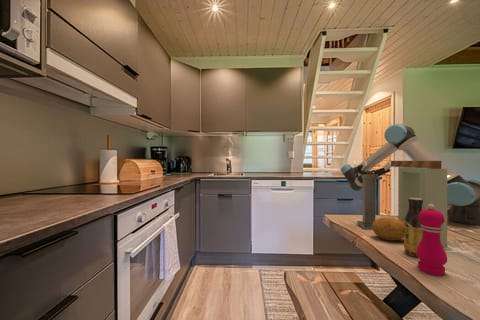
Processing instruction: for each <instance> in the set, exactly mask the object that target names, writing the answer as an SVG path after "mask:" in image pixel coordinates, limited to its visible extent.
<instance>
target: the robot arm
mask: <svg viewBox="0 0 480 320" xmlns="http://www.w3.org/2000/svg"><path fill="white" fill-rule="evenodd" d="M414 130H415V129H413V128H412V127H410V126H408V125H403V124H401V123H397V124H392V125H389V126H388V127H387V128H386V129H385V131H384V139H385V141H386V143H385V144H384V145H382V146H381V147H380V148H378V149H377V150H376V151H374V152H373V153H372V154H371V155H369V156H368V157H367V158H366V159H364V160H363V161H362V162H360V163H359V164H358V165H356V166H355V167H352V166H351V165H350V163H346V164H345V165H343V166H341V168H339V169H340V172H341V173H342V175H343V177H344V178H345V179H346V180H347V182H348V183H349V190H350V191H351V192H353V193H358V192H360V191H363V179H361V175H377V178H380V176H383V175H385V174H388V173H391V161H392V160H388V162H386V163H385V164H384V166H383V167H381V168H378V169H374V168H375V167H376V166H378V165H379V164H381V162H383V161H384V160H385V159H387V158H388V157H389V156H391V155H392V154H394V153H395V152H397V151H403V152H404V153H405V154H406V155H407V156H408V157H409V158H410V159H411V161H440V160H439V159H438V158H437V157H435V156H434V155H433V154H432V153H431V152H430V151H429V150H428V149H427V148H426V147H425V146H423V145H422V144H421V143H420V142H419V141H418V139H419V138H418V136H417V134H415V133H416V132H415V131H414ZM441 168H444V169H447V204H450V206H449V209H448V210H447V221H450V222H453V223H458V224H463V225H471V226H472V225H473V226H480V180H479V179H473V178H463V177H462V176H461V175H460V174H454V173H453V172H452V171H451V170H450V169H449V168H448V167H446V166H445V165H444V164H443V163H442V162H441Z"/></svg>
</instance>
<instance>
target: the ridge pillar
mask: <svg viewBox="0 0 480 320" xmlns="http://www.w3.org/2000/svg"><path fill="white" fill-rule="evenodd" d="M361 179H363V188H362V220H357V221H356V225H357V226H358V227H359V228H361V229H363V230H369V231H373V229H372V224H373V222H374V221H375V220H376V208H377V207H376V197H377V195H376V189H377V187H376V183H377V181H376V180H377V179H378V177H377V175H361Z"/></svg>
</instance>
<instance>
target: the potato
mask: <svg viewBox="0 0 480 320" xmlns="http://www.w3.org/2000/svg"><path fill="white" fill-rule="evenodd" d="M372 229H373V230H372V232H374V234H375V236H377V237H379V238H381V239H383V240H386V241H397V240H398V241H399V240H402V239H404V222H403V221H401V220H398V218H393V217H378V218H375V221H374V222H373V224H372Z"/></svg>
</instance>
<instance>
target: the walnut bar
mask: <svg viewBox="0 0 480 320" xmlns="http://www.w3.org/2000/svg"><path fill="white" fill-rule="evenodd" d="M390 161H391V167H393V168H398V167H410V168H431V169H441V163H442V160H439V161H413V160H390ZM391 167H390V168H391Z"/></svg>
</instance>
